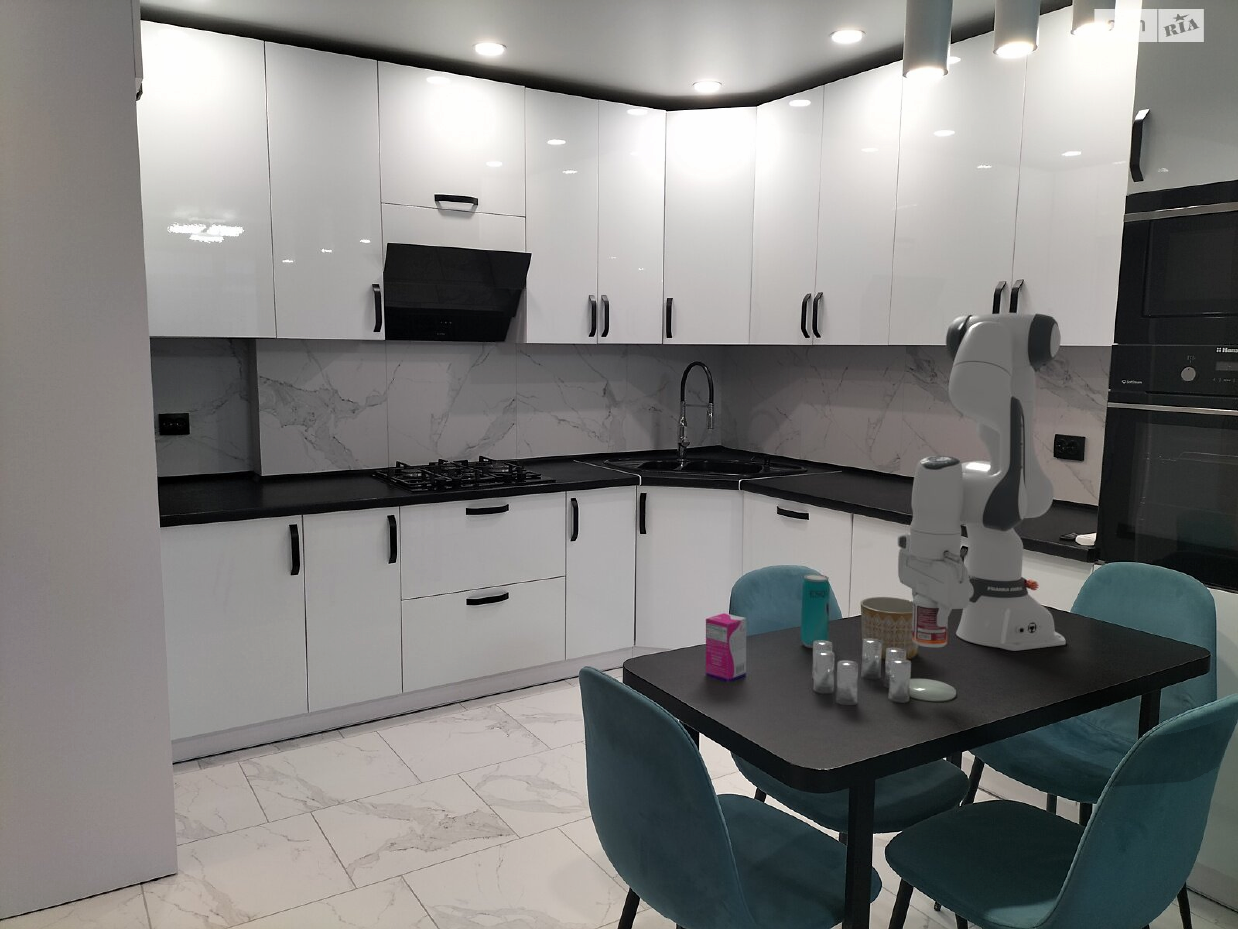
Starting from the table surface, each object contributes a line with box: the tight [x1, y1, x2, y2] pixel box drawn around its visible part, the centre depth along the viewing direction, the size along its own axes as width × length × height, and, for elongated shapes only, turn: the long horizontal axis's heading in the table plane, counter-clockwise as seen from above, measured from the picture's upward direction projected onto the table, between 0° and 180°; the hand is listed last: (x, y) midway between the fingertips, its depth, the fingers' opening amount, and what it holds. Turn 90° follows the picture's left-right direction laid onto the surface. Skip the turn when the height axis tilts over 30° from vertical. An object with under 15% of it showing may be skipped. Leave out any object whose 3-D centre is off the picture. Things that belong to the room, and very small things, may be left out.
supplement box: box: [705, 612, 747, 683], centre depth 175 cm, size 6×6×12 cm
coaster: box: [909, 678, 957, 702], centre depth 168 cm, size 10×10×1 cm
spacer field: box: [811, 638, 912, 706], centre depth 168 cm, size 18×16×7 cm
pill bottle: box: [912, 581, 949, 648], centre depth 166 cm, size 6×6×11 cm
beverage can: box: [800, 573, 831, 649], centre depth 194 cm, size 6×6×15 cm
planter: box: [860, 596, 919, 660], centre depth 189 cm, size 13×13×10 cm
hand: (930, 620), depth 166 cm, fingers closed on pill bottle, 6 cm apart
